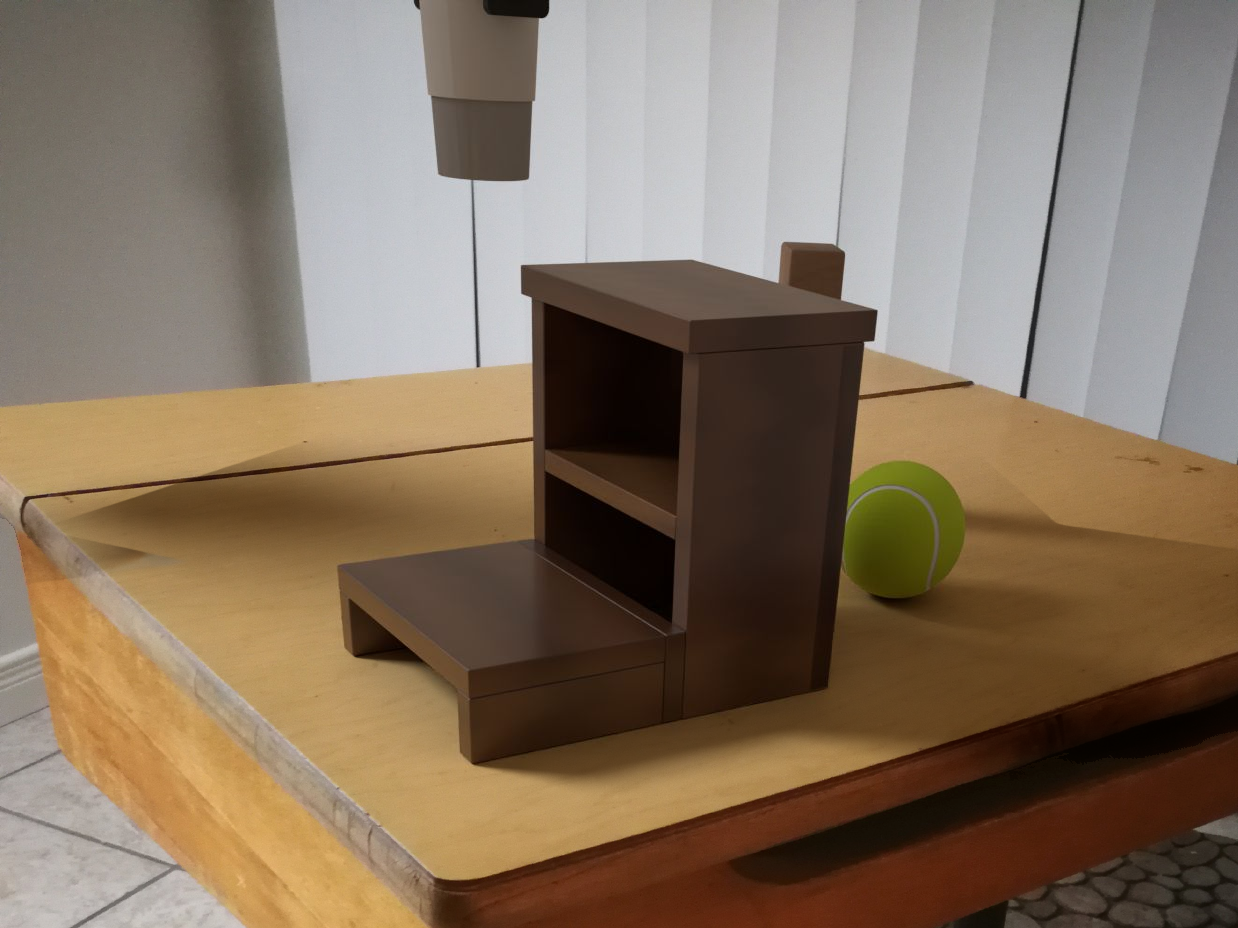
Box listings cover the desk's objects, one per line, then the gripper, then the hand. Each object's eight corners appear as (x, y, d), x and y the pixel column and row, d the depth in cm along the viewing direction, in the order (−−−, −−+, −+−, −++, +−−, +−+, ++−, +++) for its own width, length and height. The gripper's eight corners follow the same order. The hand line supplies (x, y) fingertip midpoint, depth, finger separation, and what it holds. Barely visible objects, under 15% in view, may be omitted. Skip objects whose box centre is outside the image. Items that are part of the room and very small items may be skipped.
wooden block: (821, 511, 90) (846, 251, 82) (770, 510, 90) (790, 248, 82) (802, 483, 96) (824, 236, 88) (754, 482, 96) (771, 234, 87)
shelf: (471, 764, 57) (455, 333, 49) (343, 648, 67) (311, 271, 58) (837, 686, 66) (878, 310, 58) (677, 593, 76) (692, 259, 67)
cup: (462, 167, 77) (454, -108, 71) (573, 178, 75) (575, -103, 69) (389, 174, 71) (373, -123, 65) (506, 187, 69) (502, -119, 63)
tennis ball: (842, 566, 81) (855, 440, 78) (964, 585, 80) (984, 456, 76) (812, 604, 76) (825, 469, 72) (943, 625, 74) (963, 488, 70)
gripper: (305, -469, 64) (337, 5, 74) (480, -565, 52) (491, 15, 62) (458, -433, 68) (470, 13, 77) (654, -515, 56) (639, 25, 65)
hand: (479, 10), depth 69 cm, fingers closed on cup, 6 cm apart
